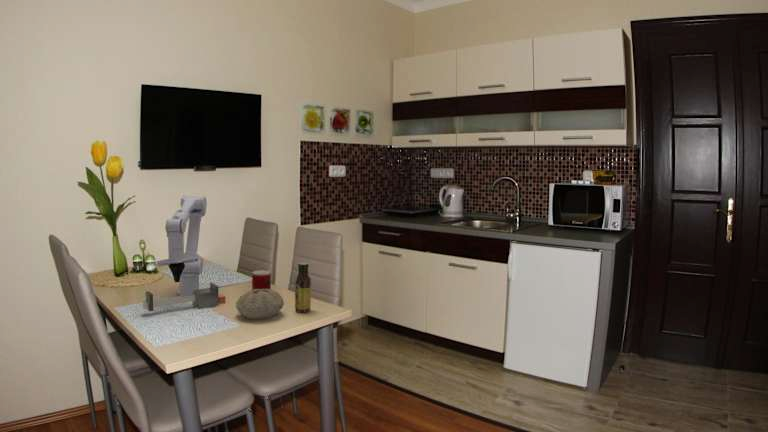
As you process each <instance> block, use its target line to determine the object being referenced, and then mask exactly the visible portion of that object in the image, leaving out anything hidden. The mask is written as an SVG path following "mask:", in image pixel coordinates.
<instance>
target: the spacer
mask: <svg viewBox="0 0 768 432" xmlns="http://www.w3.org/2000/svg"><path fill="white" fill-rule="evenodd" d="M218 295H219V305H222V304H226V303H227V302H226V295H223V294H222V293H219V294H218Z"/></svg>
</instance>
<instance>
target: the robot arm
mask: <svg viewBox="0 0 768 432" xmlns="http://www.w3.org/2000/svg"><path fill="white" fill-rule="evenodd" d="M207 205H208V202H207V198H206V196H205V195H184V194H183V195H182V197H181V199H180V208H179V209H177V210H176V211H175V213H174V214H173V216H172V217H171V218H168V219H167V220H166V222H165V227H164V228H165V232H166V237H167V241H168V243H167V245H168V246H167V247H168V249H167V250H168V258H167V259H161V260H160V259H159V260H156V266H157V267H162V266H163V267H164V266H167V267H168V268H169V270H170V272H171V274H172V276H173V281H174V283H178V284H179V285H178V287H179V291H177V294H178V296H182V295H189V294H193V290H198V289H200V275H201V274H202V273H203V270H204V260H203V257H202V255H200V254H199V253H198V247H199V239H200V229H201V222H202V221H201V220H202V218H203V217H205V216H206V213H207ZM187 223H188V229H187V236H186V246H185V241H184V239H185V238H184V237H185V235H184V234H185V232H186V228H187Z"/></svg>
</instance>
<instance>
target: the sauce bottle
mask: <svg viewBox="0 0 768 432" xmlns="http://www.w3.org/2000/svg"><path fill="white" fill-rule="evenodd" d="M297 266H298V274H297V276H296V279H295V282H294V307H295V312H296V313H299V314H300V313H301V314H302V313H303V314H304V313H305V314H307V313H309V312H310V311H311V307H312V306H311V305H312V304H311V303H312V301H311V299H312V295H311V293H312V281H311V277H310V275H309V262H306V261H305V262H304V261H302V262H301V261H300V262H298V264H297Z"/></svg>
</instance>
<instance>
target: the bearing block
mask: <svg viewBox="0 0 768 432" xmlns="http://www.w3.org/2000/svg"><path fill="white" fill-rule="evenodd" d="M195 293H196V294H197V301H192V305H193V306H194V305H195V308H197V307H198V308H197V309H199V310H200V308H201V309H206V308H211V307H217V306H219V305H220V304H219V295H220V294H219V285H218V284H215V283H214V282H209V287H207V288H205V287H204V288H201V289H200V288H199V289H198V290H193V294H195Z"/></svg>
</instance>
